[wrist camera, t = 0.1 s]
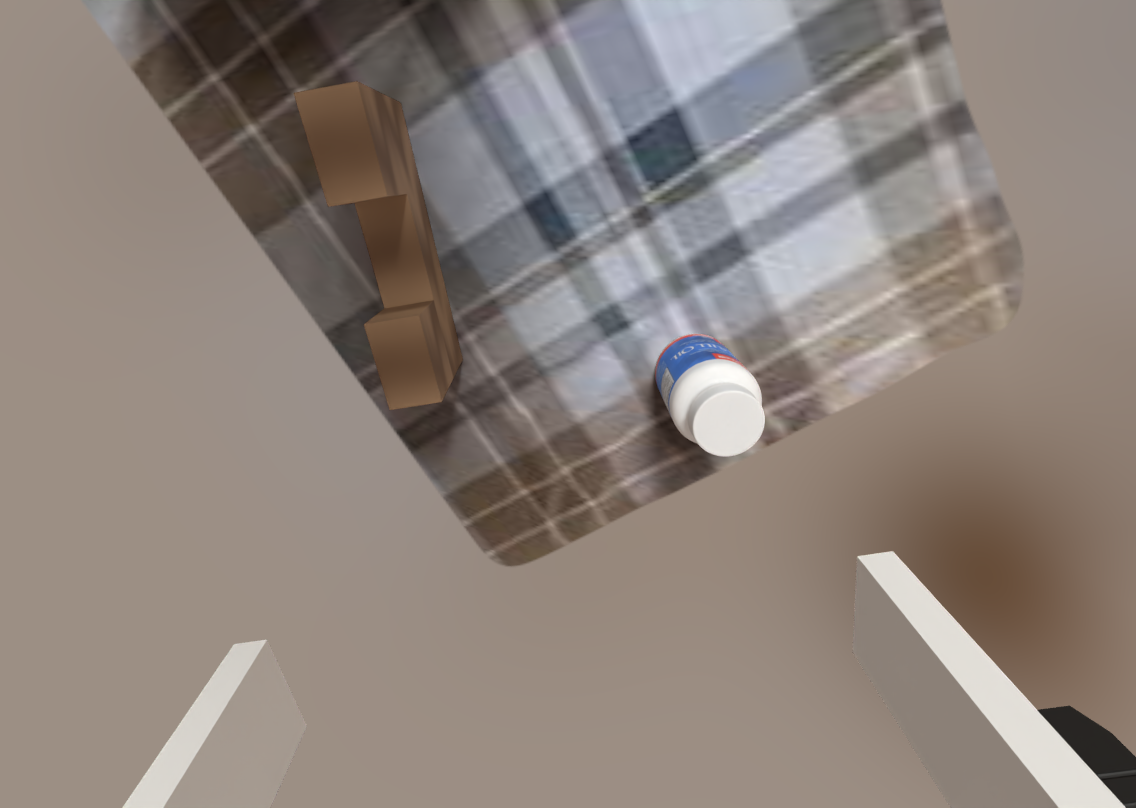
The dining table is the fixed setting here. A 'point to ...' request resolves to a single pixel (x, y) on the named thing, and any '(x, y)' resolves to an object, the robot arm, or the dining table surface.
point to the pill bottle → (710, 395)
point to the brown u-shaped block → (387, 235)
